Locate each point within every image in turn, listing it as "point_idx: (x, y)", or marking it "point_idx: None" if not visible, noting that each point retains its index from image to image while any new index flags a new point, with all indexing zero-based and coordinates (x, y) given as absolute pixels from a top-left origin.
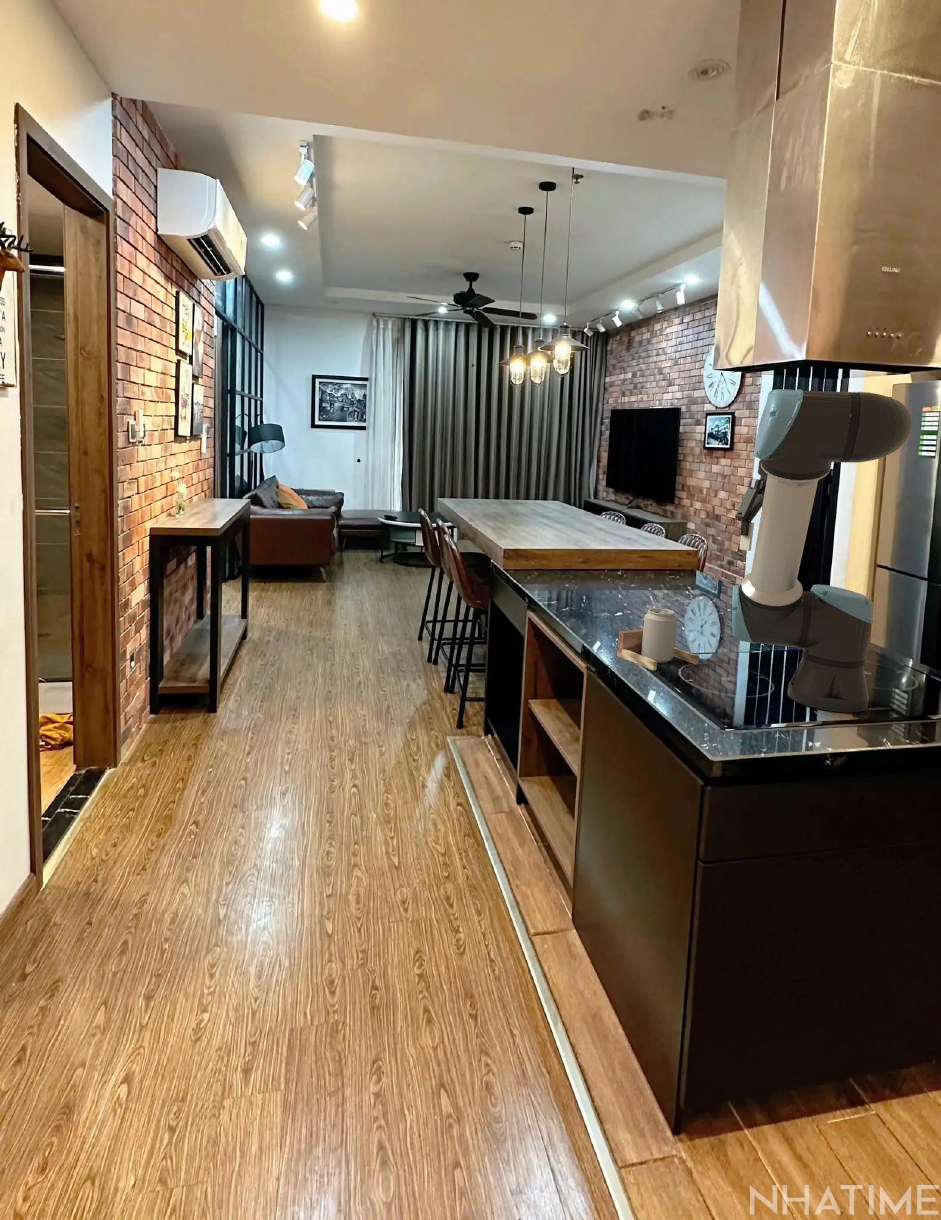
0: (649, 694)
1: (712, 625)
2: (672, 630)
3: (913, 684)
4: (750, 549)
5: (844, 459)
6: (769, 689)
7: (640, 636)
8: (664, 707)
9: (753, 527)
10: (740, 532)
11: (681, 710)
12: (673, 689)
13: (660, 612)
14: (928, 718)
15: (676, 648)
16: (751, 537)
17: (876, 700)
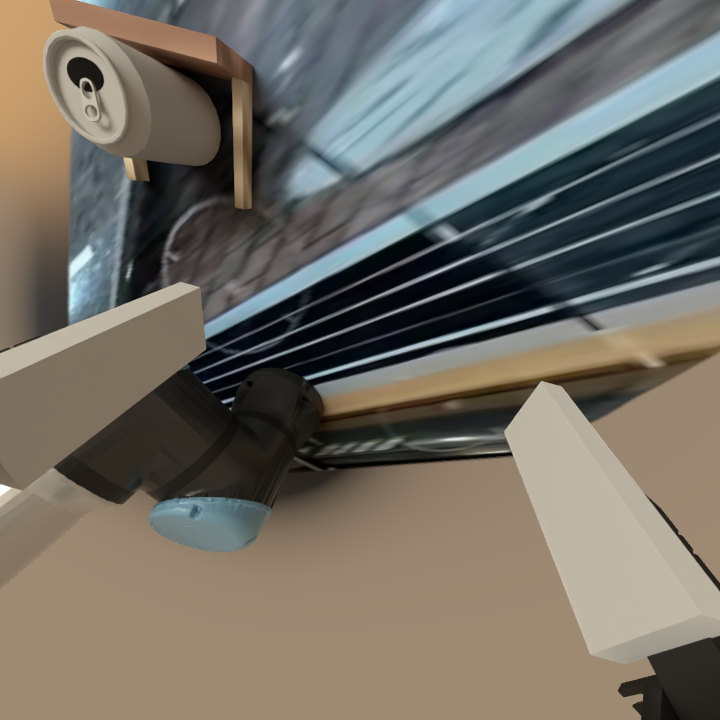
0: (78, 257)
1: None
2: (144, 159)
3: (442, 448)
4: (199, 351)
5: None
6: (254, 348)
7: (131, 44)
8: (77, 298)
9: (71, 450)
10: (32, 340)
11: (94, 315)
12: (124, 266)
13: (82, 95)
14: (324, 468)
15: (238, 133)
16: (138, 392)
17: (335, 433)
